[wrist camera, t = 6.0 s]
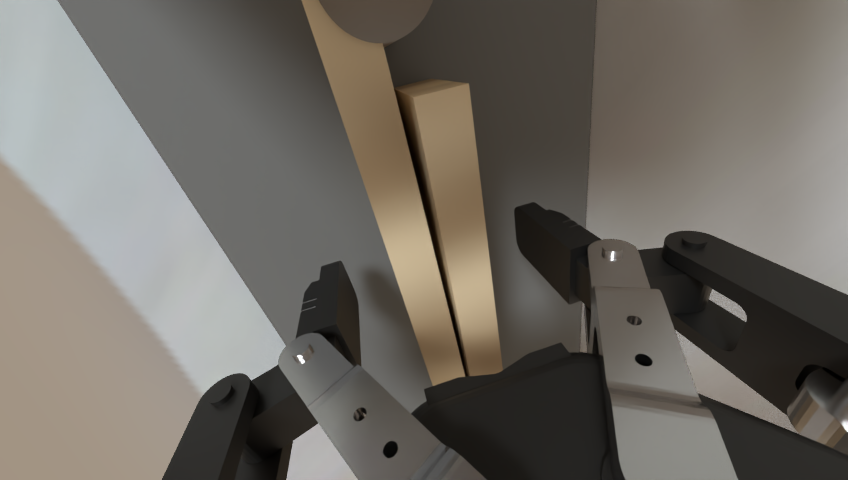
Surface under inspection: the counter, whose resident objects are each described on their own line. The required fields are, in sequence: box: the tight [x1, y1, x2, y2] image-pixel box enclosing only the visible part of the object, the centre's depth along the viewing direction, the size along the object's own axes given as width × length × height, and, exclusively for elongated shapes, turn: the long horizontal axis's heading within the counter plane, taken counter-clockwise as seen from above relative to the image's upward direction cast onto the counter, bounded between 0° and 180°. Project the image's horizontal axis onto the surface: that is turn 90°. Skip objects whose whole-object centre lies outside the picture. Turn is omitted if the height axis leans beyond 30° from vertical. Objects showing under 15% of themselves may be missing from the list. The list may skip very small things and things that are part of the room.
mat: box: [58, 0, 597, 413], centre depth 15 cm, size 28×16×1 cm, turn 15°
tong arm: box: [394, 79, 503, 377], centre depth 14 cm, size 20×1×4 cm, turn 14°
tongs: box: [302, 0, 465, 386], centre depth 13 cm, size 24×3×4 cm, turn 15°
